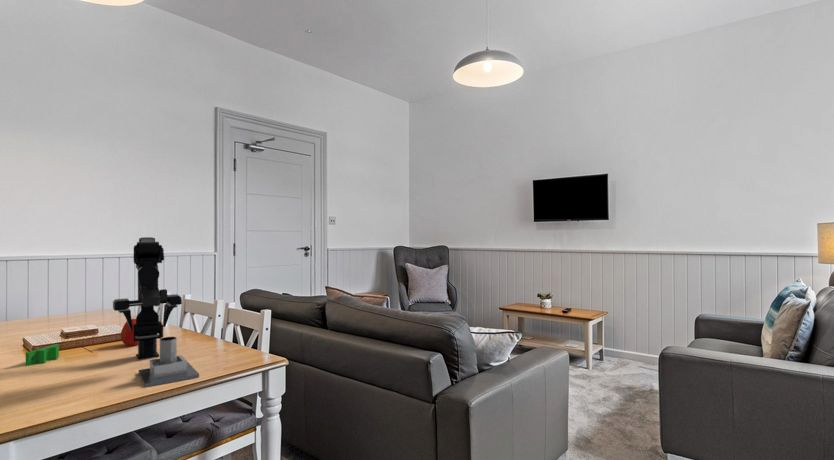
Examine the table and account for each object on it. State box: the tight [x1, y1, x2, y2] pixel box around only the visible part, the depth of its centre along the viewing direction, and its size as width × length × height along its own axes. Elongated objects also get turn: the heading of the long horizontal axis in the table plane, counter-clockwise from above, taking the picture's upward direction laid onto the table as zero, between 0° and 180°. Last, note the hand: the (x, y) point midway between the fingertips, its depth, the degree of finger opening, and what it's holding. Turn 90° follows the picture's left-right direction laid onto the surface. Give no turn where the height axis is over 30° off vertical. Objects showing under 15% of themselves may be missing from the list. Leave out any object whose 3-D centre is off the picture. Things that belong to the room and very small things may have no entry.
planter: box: [159, 336, 178, 365], centre depth 140 cm, size 4×4×10 cm
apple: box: [120, 318, 138, 347], centre depth 177 cm, size 8×8×11 cm
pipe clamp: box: [25, 343, 60, 367], centre depth 156 cm, size 11×4×5 cm, turn 173°
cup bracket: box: [138, 354, 200, 388], centre depth 140 cm, size 16×14×4 cm
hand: (148, 328), depth 147 cm, fingers open, 9 cm apart
